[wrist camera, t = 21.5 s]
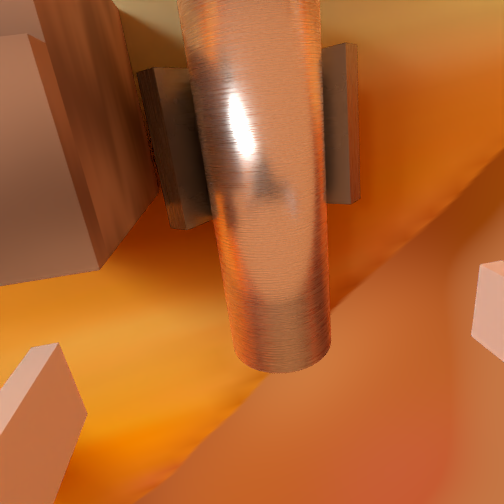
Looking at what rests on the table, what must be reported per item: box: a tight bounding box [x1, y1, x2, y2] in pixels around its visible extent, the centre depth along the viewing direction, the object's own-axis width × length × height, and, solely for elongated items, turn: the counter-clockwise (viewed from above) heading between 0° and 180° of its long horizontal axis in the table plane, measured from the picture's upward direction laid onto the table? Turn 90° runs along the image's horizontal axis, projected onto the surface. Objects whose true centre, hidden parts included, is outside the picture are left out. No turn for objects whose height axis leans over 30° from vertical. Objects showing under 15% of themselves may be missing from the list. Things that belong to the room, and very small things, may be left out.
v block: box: [137, 43, 360, 230], centre depth 19 cm, size 7×10×6 cm
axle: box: [177, 0, 331, 373], centre depth 16 cm, size 18×6×6 cm, turn 7°
